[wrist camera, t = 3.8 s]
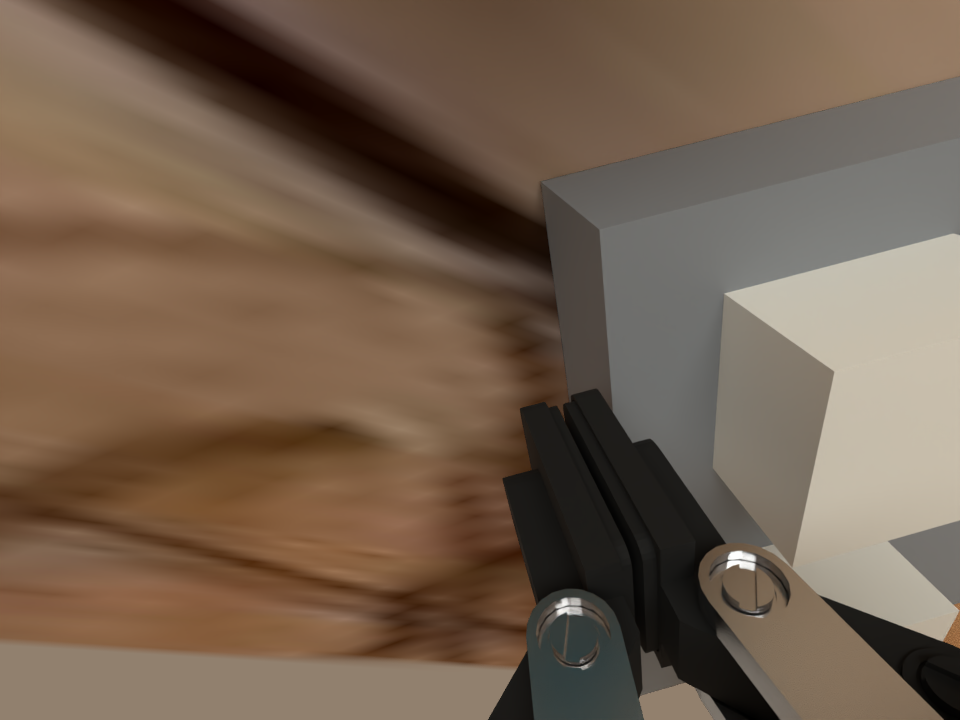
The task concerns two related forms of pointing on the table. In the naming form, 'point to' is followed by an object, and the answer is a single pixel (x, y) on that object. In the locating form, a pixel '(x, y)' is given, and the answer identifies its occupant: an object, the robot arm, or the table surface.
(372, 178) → the table surface
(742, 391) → the beige block
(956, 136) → the plate
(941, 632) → the beige block
